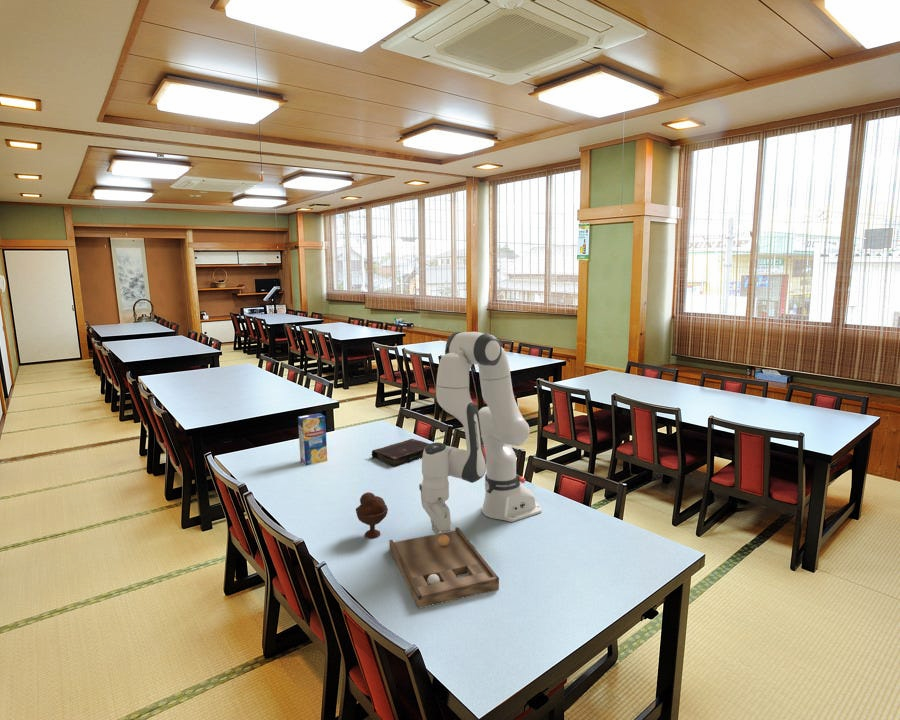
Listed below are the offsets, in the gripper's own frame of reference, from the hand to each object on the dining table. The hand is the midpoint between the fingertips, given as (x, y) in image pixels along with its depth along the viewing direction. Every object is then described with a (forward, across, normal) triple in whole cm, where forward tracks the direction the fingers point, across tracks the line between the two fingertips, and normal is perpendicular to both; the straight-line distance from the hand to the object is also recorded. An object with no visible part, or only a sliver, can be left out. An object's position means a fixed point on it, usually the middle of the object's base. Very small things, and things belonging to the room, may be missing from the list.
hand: (435, 531), depth 176 cm
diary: (+4, +84, -12) cm, 85 cm away
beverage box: (+4, +93, +30) cm, 98 cm away
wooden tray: (+4, -15, +4) cm, 16 cm away
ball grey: (+2, -23, +8) cm, 25 cm away
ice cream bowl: (+4, +13, +19) cm, 23 cm away
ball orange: (0, -7, 0) cm, 7 cm away
